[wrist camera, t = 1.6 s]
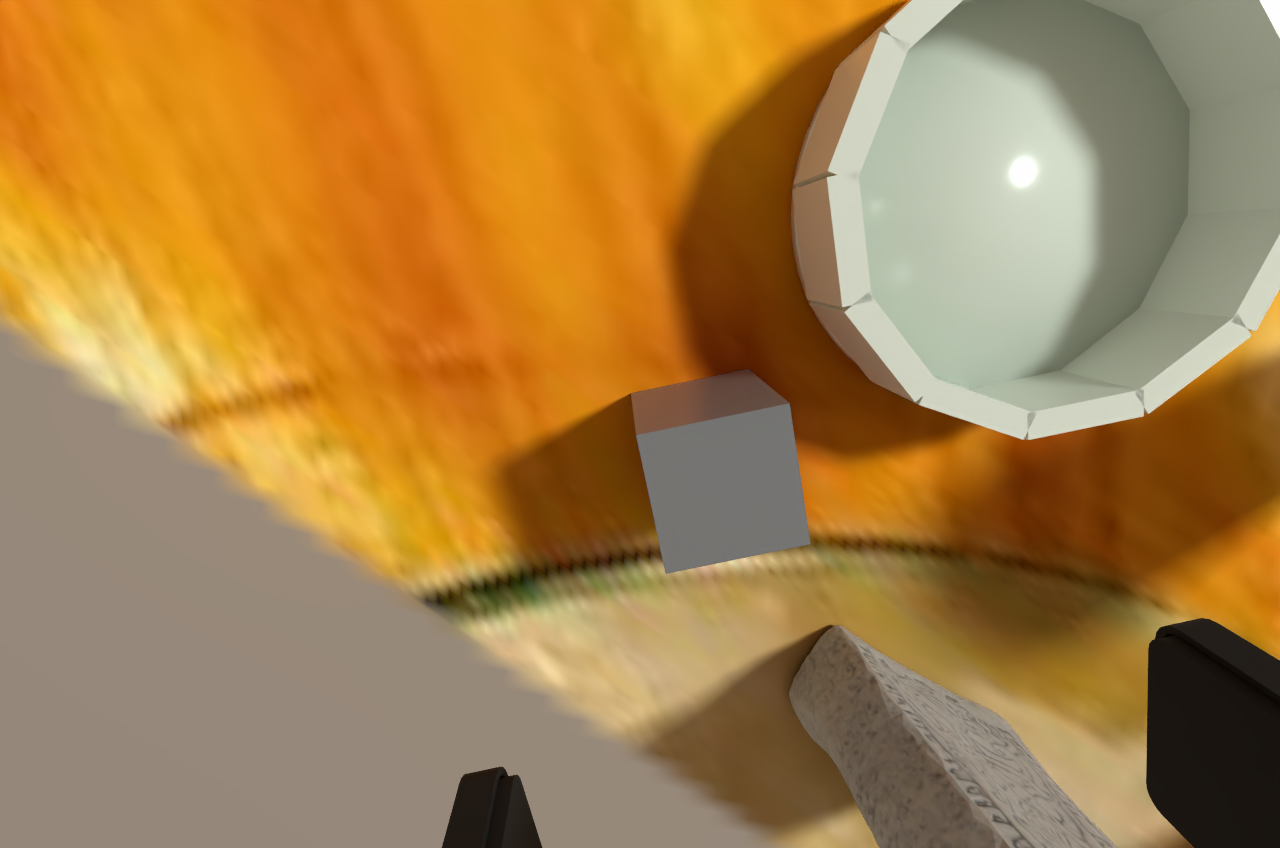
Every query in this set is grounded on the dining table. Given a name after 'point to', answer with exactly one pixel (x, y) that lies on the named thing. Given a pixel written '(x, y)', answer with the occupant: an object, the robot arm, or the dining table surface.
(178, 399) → the dining table surface
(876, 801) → the decorative stone
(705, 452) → the matte grey cube
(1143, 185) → the bowl
